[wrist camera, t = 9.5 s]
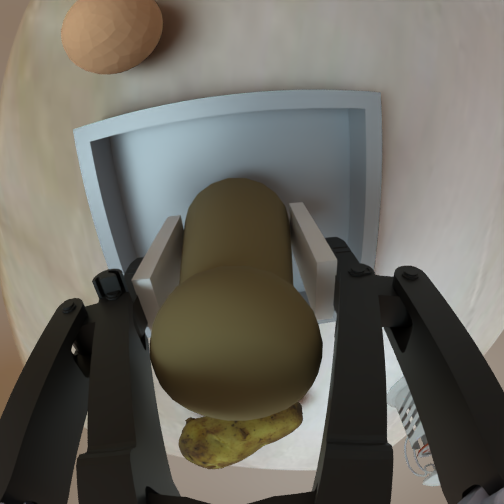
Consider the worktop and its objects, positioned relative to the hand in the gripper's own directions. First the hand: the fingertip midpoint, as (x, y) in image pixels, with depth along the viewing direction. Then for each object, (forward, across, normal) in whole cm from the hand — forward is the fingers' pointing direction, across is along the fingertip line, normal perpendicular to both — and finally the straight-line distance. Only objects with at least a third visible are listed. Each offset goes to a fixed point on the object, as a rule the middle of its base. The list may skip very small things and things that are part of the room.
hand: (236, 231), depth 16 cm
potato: (+4, -2, -22) cm, 23 cm away
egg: (+4, -5, +13) cm, 14 cm away
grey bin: (+3, 0, 0) cm, 3 cm away
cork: (+1, 0, 0) cm, 1 cm away
